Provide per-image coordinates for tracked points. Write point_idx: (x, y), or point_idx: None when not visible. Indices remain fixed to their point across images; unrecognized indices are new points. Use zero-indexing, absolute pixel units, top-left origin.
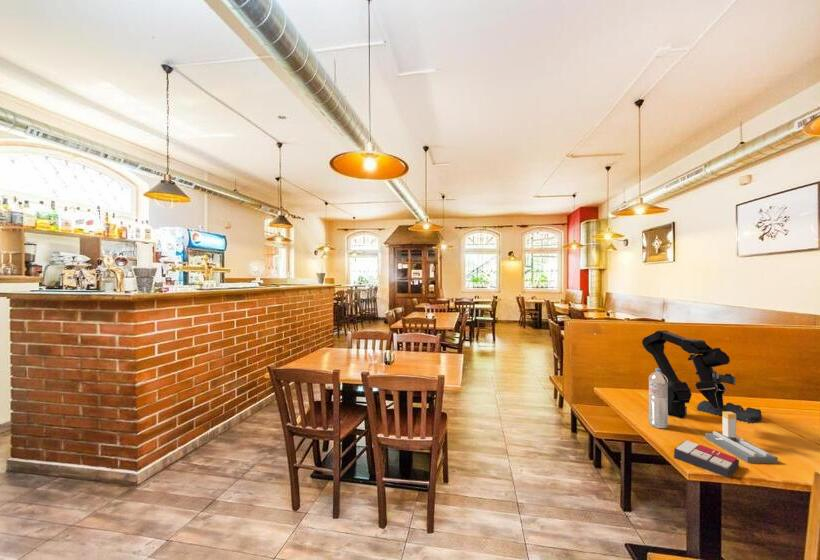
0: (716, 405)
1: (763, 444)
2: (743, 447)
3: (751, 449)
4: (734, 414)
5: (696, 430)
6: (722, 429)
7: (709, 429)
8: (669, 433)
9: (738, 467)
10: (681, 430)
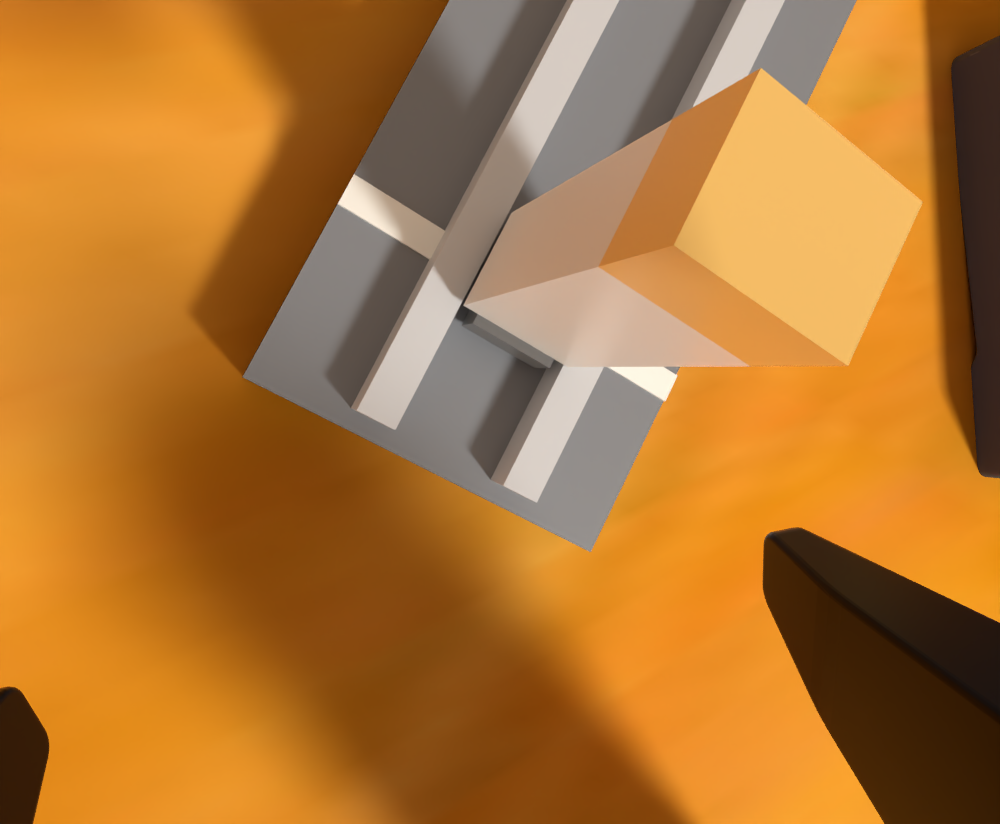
0: (858, 574)
1: (18, 30)
2: (746, 59)
3: (617, 17)
4: (786, 104)
5: (396, 732)
6: (605, 365)
7: (164, 692)
8: (776, 776)
9: (963, 55)
10: (575, 795)
